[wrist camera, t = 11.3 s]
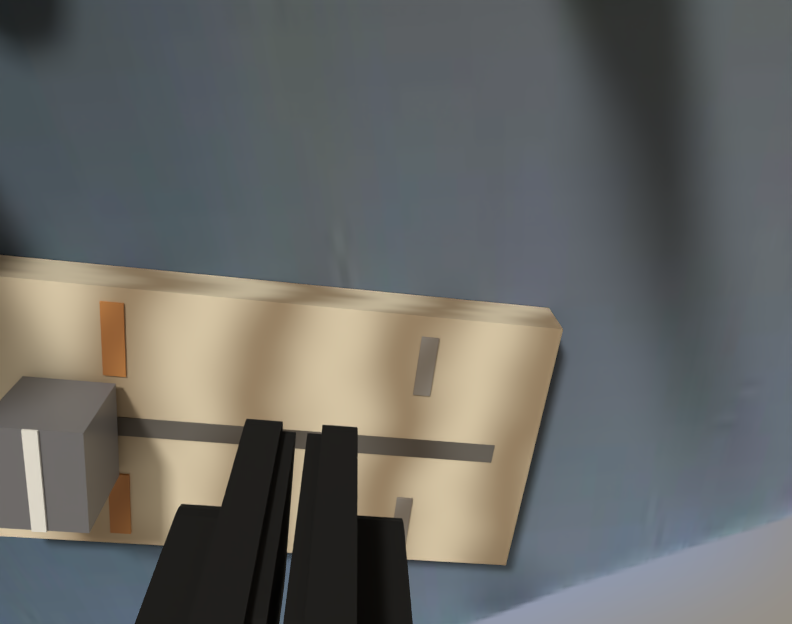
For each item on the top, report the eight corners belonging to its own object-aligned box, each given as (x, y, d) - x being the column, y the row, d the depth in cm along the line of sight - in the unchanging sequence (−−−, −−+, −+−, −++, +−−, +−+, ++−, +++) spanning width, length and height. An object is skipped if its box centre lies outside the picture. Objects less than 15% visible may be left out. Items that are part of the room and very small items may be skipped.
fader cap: (115, 383, 31) (82, 434, 27) (119, 475, 33) (88, 534, 29) (22, 376, 30) (-25, 426, 26) (31, 469, 32) (-11, 529, 28)
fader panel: (548, 308, 33) (563, 330, 31) (497, 532, 39) (506, 566, 36) (-7, 254, 31) (-38, 273, 29) (20, 503, 36) (-4, 537, 34)
